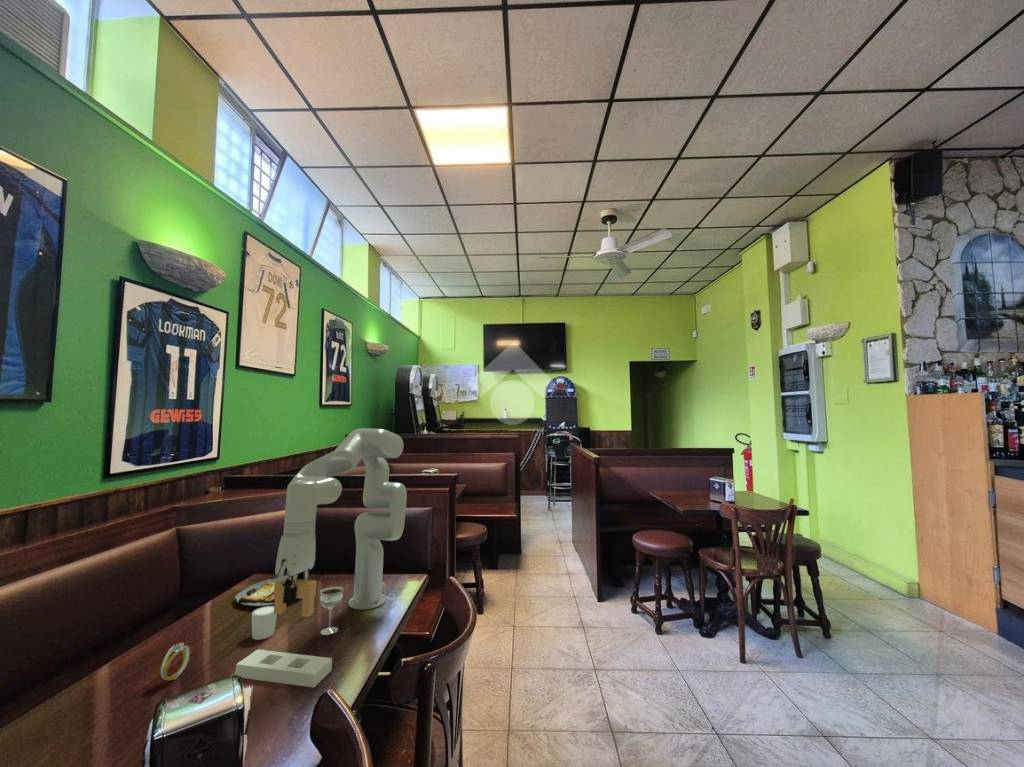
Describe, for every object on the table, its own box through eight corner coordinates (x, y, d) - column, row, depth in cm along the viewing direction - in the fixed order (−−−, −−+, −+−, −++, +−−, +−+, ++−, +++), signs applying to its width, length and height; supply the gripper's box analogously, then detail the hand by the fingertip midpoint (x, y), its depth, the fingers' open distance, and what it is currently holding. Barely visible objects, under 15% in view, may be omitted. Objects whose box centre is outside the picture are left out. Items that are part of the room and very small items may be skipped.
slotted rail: (256, 661, 108) (257, 649, 109) (331, 670, 105) (332, 658, 105) (234, 677, 101) (236, 664, 102) (314, 687, 98) (314, 674, 98)
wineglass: (325, 638, 120) (328, 596, 122) (312, 632, 124) (315, 591, 125) (345, 629, 126) (348, 589, 127) (332, 623, 129) (335, 584, 131)
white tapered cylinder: (263, 642, 118) (265, 616, 119) (243, 639, 119) (245, 614, 120) (281, 630, 125) (283, 606, 125) (262, 628, 126) (264, 604, 127)
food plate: (285, 612, 137) (286, 601, 138) (218, 610, 138) (219, 600, 138) (321, 584, 162) (322, 575, 162) (265, 583, 163) (265, 573, 163)
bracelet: (181, 670, 104) (185, 637, 105) (192, 671, 103) (195, 638, 104) (154, 687, 97) (158, 651, 98) (165, 688, 97) (169, 652, 97)
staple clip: (280, 609, 108) (282, 577, 109) (314, 612, 106) (316, 580, 107) (272, 614, 105) (274, 581, 106) (307, 617, 103) (309, 584, 104)
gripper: (307, 520, 117) (302, 587, 114) (264, 534, 101) (257, 612, 98) (330, 521, 115) (326, 589, 113) (291, 536, 99) (285, 615, 97)
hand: (294, 599), depth 106 cm, fingers closed on staple clip, 3 cm apart
